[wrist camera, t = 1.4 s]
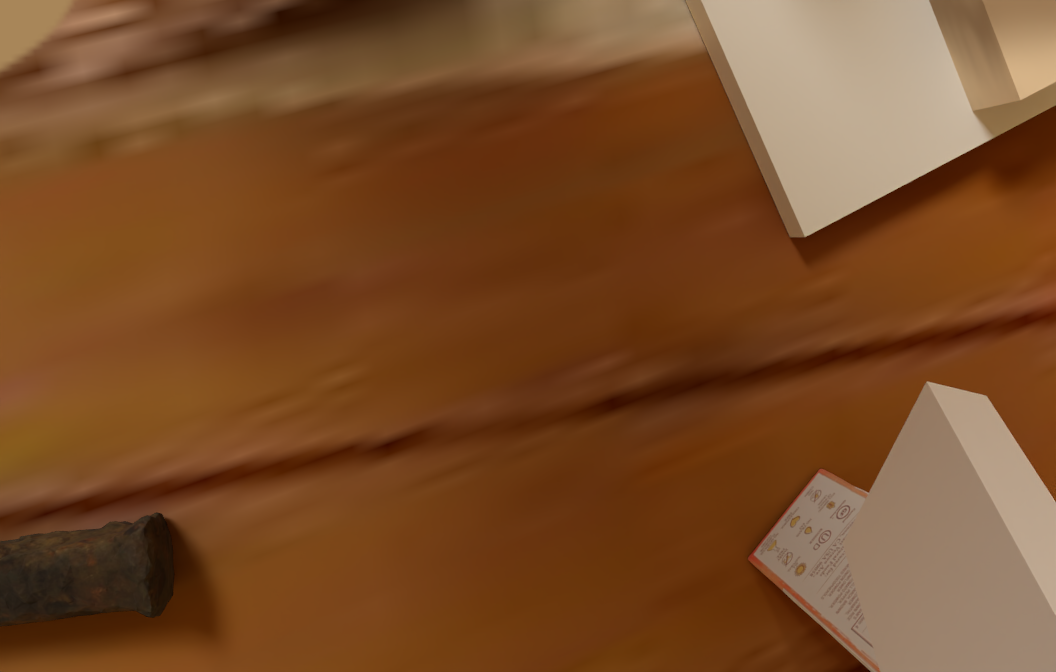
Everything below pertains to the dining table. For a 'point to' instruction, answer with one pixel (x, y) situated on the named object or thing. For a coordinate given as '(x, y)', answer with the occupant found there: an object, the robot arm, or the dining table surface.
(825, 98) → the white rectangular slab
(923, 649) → the robot arm
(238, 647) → the dining table surface
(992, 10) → the oak board
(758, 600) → the dining table surface
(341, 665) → the dining table surface
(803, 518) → the cracker box
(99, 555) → the hand tool
